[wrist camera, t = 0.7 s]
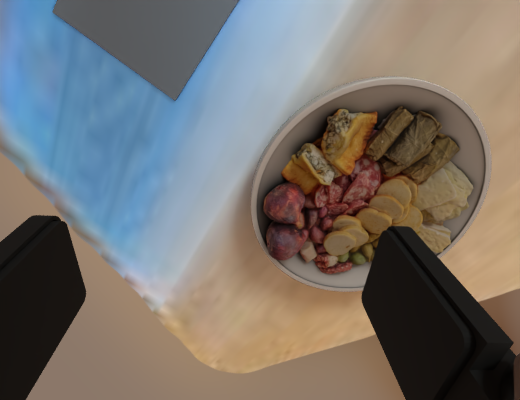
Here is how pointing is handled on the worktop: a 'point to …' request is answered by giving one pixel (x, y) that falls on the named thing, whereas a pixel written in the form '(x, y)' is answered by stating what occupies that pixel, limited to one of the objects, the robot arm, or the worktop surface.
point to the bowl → (368, 177)
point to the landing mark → (151, 33)
